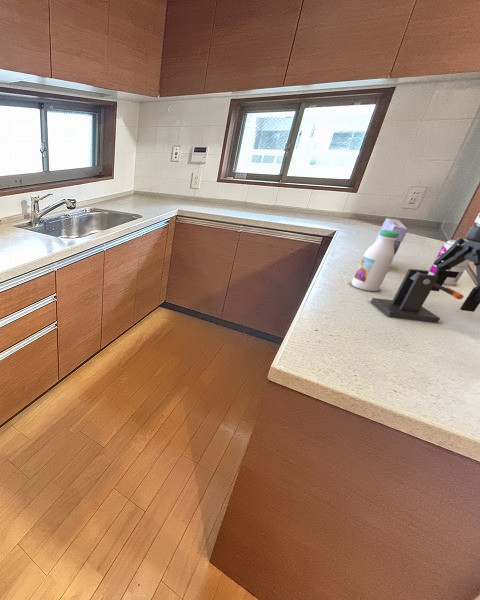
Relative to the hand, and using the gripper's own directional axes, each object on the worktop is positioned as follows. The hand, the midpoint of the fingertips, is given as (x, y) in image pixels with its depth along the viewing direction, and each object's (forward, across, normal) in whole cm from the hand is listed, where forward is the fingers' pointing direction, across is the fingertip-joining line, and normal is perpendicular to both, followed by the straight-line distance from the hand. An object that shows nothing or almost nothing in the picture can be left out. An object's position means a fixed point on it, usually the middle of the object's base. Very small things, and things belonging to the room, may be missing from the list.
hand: (448, 299), depth 93 cm
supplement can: (+6, -34, +20) cm, 40 cm away
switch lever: (-3, 0, -5) cm, 6 cm away
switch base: (+6, 0, -9) cm, 11 cm away
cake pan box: (+6, -49, +7) cm, 50 cm away
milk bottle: (+6, -18, -11) cm, 22 cm away
